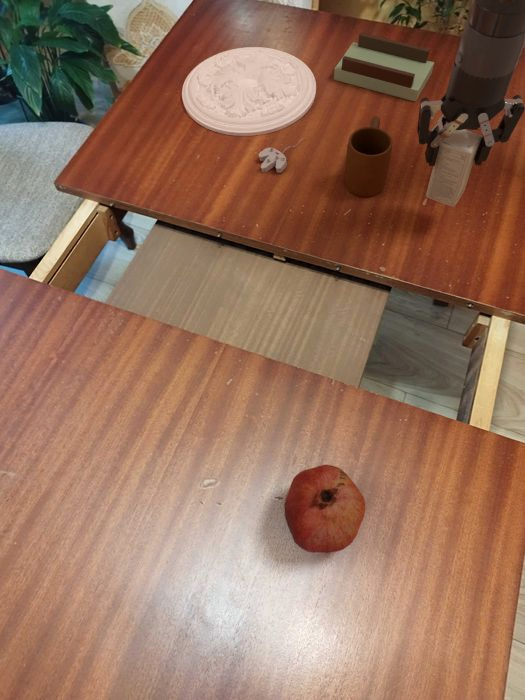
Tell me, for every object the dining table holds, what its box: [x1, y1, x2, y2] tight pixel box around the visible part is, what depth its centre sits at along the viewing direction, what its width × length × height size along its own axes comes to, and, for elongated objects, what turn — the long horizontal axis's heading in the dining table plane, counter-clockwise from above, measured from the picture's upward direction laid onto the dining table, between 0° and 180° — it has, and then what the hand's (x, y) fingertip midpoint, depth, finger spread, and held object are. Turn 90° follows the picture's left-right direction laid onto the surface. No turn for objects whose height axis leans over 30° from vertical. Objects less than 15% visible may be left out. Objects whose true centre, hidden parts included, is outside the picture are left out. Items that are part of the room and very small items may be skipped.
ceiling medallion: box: [181, 46, 317, 137], centre depth 112 cm, size 28×28×3 cm
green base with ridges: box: [333, 32, 435, 103], centre depth 112 cm, size 18×10×5 cm, turn 63°
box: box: [425, 129, 483, 208], centre depth 84 cm, size 5×4×11 cm
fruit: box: [283, 464, 366, 554], centre depth 66 cm, size 11×10×10 cm
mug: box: [343, 115, 394, 198], centre depth 96 cm, size 12×8×9 cm, turn 166°
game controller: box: [258, 137, 307, 174], centre depth 103 cm, size 6×12×3 cm, turn 153°
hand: (453, 161), depth 83 cm, fingers closed on box, 6 cm apart
